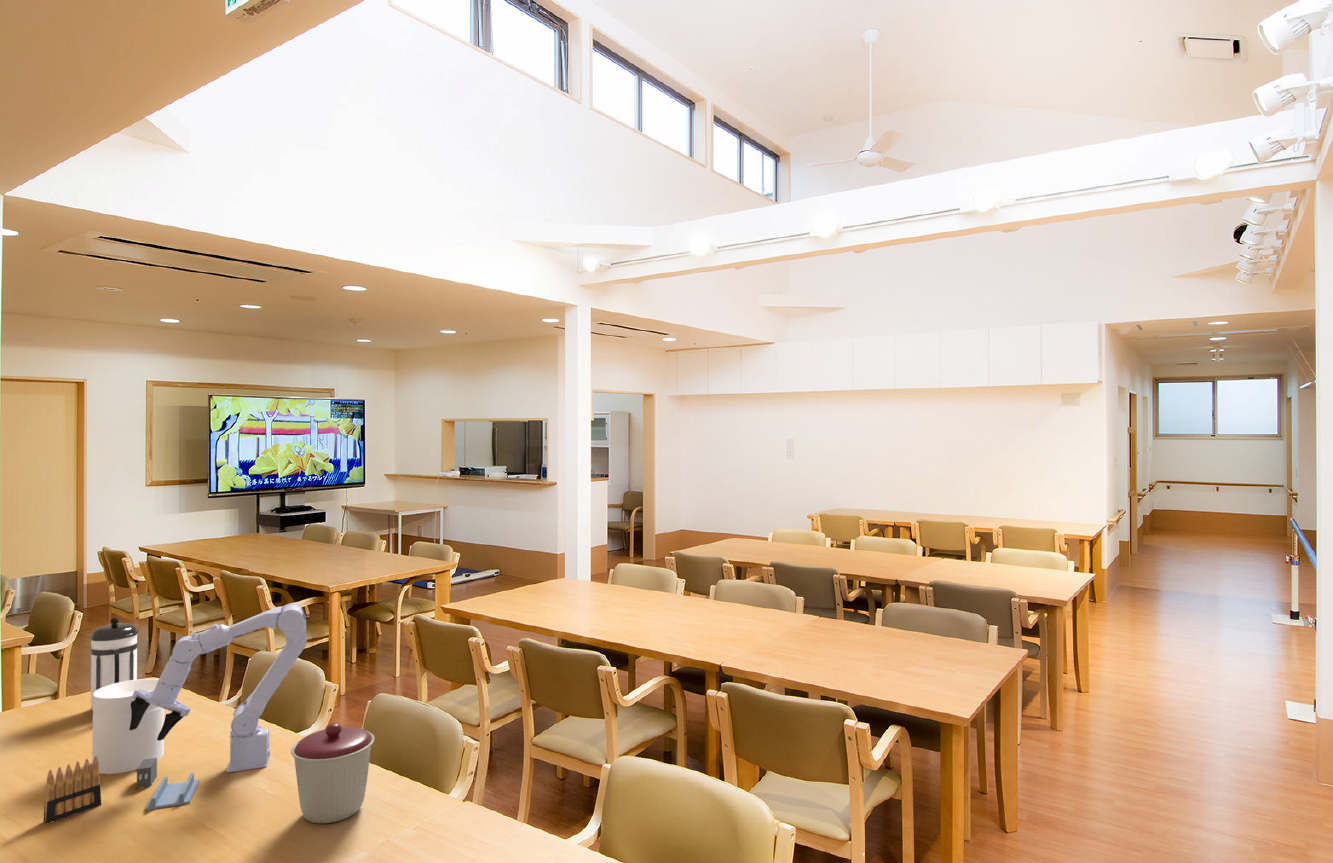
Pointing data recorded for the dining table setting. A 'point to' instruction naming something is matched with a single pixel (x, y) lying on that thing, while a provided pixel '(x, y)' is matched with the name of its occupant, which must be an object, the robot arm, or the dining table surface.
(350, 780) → the canister
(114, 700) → the canister
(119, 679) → the coffee press
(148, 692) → the robot arm
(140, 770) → the charcoal plug
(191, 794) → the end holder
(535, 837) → the dining table surface
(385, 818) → the dining table surface
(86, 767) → the ammunition clip
